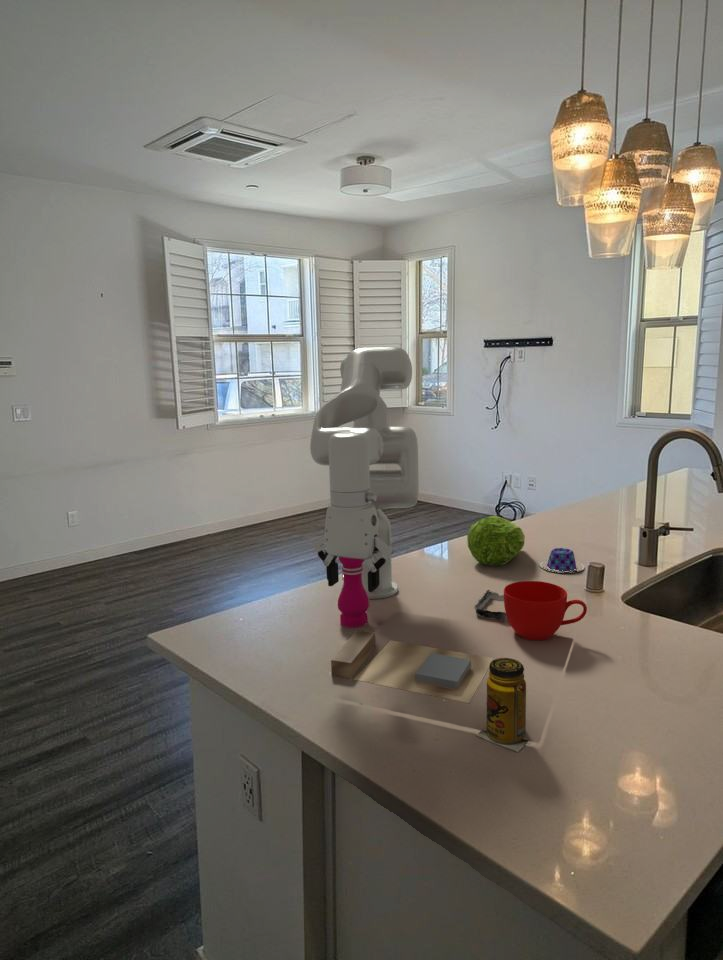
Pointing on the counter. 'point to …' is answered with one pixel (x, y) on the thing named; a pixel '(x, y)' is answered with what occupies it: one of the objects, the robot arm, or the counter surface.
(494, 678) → the condiment
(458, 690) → the cork mat
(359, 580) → the pepper mill
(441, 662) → the slate tile
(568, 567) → the blue bucket hat
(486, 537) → the lettuce
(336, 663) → the walnut turner
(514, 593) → the ceramic cup
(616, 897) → the counter surface
